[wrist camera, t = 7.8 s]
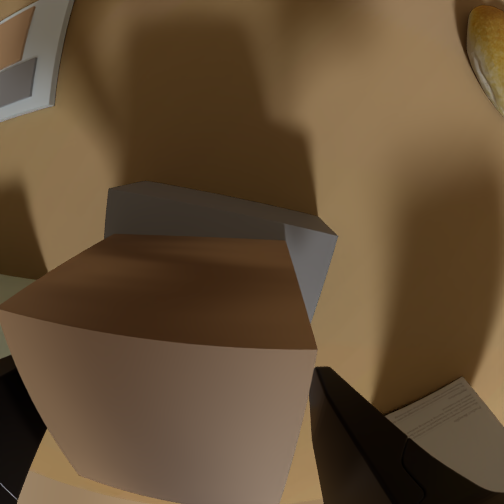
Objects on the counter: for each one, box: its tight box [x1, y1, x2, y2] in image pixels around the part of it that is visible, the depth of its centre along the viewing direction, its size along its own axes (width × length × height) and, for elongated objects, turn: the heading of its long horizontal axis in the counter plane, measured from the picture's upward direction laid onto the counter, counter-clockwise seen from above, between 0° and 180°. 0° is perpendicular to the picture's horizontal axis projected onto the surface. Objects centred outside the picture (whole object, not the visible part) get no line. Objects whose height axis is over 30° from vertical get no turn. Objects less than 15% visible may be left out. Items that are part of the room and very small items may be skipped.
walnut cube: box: [0, 234, 317, 504], centre depth 8 cm, size 6×6×6 cm
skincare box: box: [385, 377, 504, 492], centre depth 10 cm, size 8×6×15 cm
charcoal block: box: [104, 181, 338, 323], centre depth 13 cm, size 8×8×4 cm
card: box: [0, 0, 74, 122], centre depth 10 cm, size 10×8×1 cm
